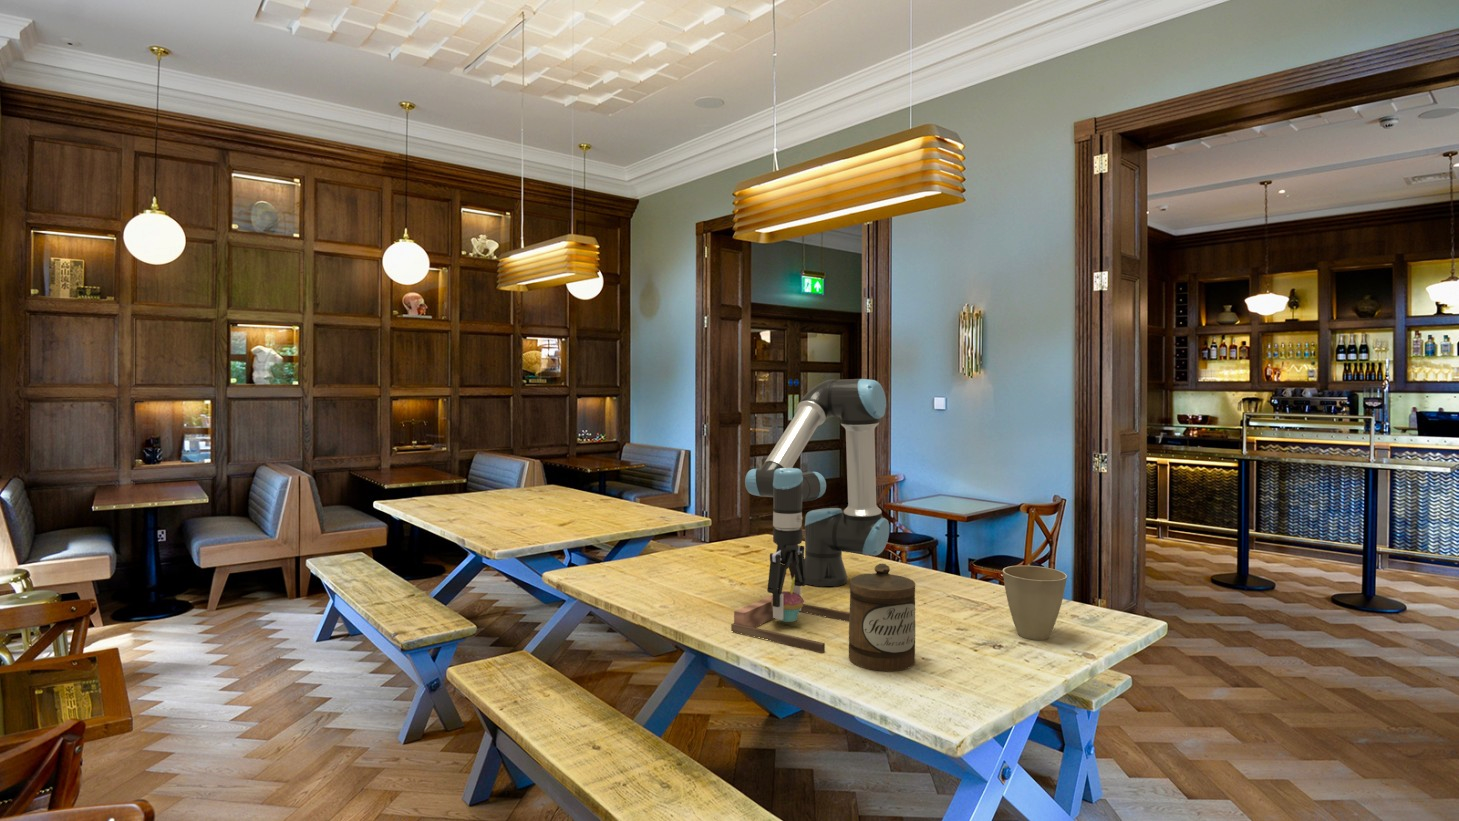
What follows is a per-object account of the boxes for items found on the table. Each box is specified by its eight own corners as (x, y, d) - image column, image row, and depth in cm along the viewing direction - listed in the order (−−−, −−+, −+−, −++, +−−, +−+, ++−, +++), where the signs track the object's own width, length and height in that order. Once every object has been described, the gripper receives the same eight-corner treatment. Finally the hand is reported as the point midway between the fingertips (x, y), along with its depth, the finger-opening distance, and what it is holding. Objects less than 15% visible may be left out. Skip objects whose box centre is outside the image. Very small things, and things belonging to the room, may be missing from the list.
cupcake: (807, 616, 199) (808, 571, 198) (797, 626, 191) (797, 579, 191) (777, 612, 202) (777, 568, 202) (765, 621, 195) (765, 575, 194)
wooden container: (872, 676, 162) (873, 574, 161) (836, 653, 176) (837, 560, 175) (928, 666, 168) (929, 568, 167) (889, 645, 182) (890, 554, 181)
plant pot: (989, 630, 193) (989, 568, 192) (1033, 623, 199) (1034, 563, 198) (1033, 649, 179) (1034, 582, 179) (1079, 640, 185) (1080, 576, 185)
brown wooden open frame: (785, 607, 212) (785, 589, 212) (870, 624, 197) (870, 605, 197) (731, 631, 191) (731, 612, 191) (822, 653, 176) (822, 631, 176)
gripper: (778, 536, 185) (778, 627, 186) (819, 523, 202) (819, 607, 203) (753, 532, 190) (752, 621, 190) (795, 520, 207) (795, 602, 208)
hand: (787, 614), depth 197 cm, fingers closed on cupcake, 8 cm apart
